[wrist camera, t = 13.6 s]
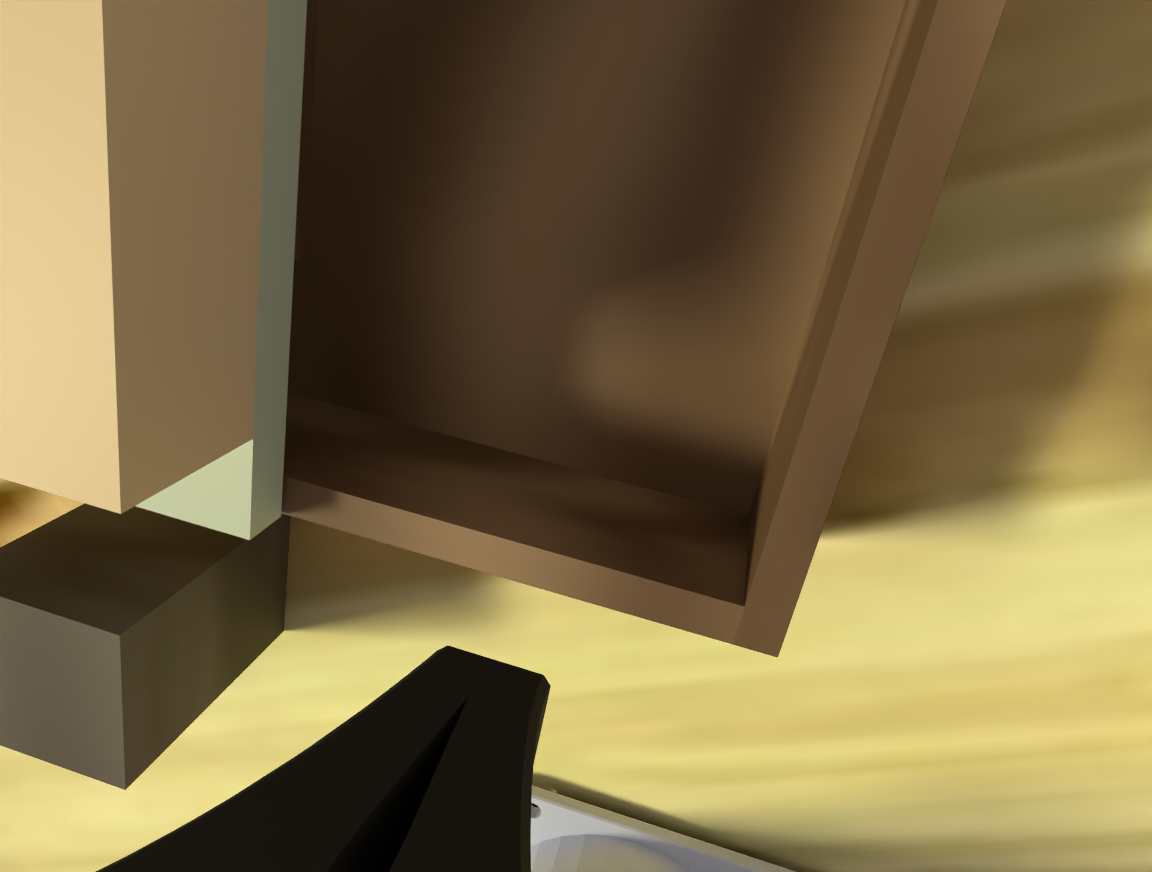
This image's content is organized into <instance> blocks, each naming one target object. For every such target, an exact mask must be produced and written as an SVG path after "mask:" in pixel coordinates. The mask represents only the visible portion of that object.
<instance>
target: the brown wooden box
mask: <svg viewBox="0 0 1152 872" xmlns="http://www.w3.org/2000/svg"><path fill="white" fill-rule="evenodd" d="M1005 3H1006V0H307V13H306V33H305V53H304V73H303V93H302V112H301V132H300V152H299V172H298V192H297V212H296V231H295V251H294V271H293V291H292V311H291V331H290V350H289V370H288V390H287V410H286V430H285V449H284V469H283V489H282V509H281V513H282V514H286V515H289V516H292V517H296V518H299V519H303V520H306V521H310V522H313V523H317V524H320V525H323V526H327V527H330V528H334V529H337V530H341V531H344V532H348V533H351V534H354V535H358V536H361V537H365V538H368V539H372V540H375V541H379V542H382V543H385V544H389V545H392V546H396V547H399V548H403V549H406V550H410V551H413V552H416V553H420V554H423V555H427V556H430V557H434V558H437V559H441V560H444V561H447V562H451V563H454V564H458V565H461V566H465V567H468V568H472V569H475V570H478V571H482V572H485V573H489V574H492V575H496V576H499V577H503V578H506V579H509V580H513V581H516V582H520V583H523V584H527V585H530V586H534V587H537V588H540V589H544V590H547V591H551V592H554V593H558V594H561V595H565V596H568V597H571V598H575V599H578V600H582V601H585V602H589V603H592V604H596V605H599V606H602V607H606V608H609V609H613V610H616V611H620V612H623V613H627V614H630V615H633V616H637V617H640V618H644V619H647V620H651V621H654V622H658V623H661V624H664V625H668V626H671V627H675V628H678V629H682V630H685V631H689V632H692V633H695V634H699V635H702V636H706V637H709V638H713V639H716V640H720V641H723V642H726V643H730V644H733V645H737V646H740V647H744V648H747V649H751V650H754V651H757V652H761V653H764V654H768V655H771V656H775V657H778V655H779V652H780V650H781V647H782V644H783V641H784V638H785V635H786V632H787V629H788V627H789V624H790V621H791V618H792V615H793V612H794V609H795V606H796V604H797V601H798V598H799V595H800V592H801V589H802V586H803V583H804V581H805V578H806V575H807V572H808V569H809V566H810V563H811V560H812V558H813V555H814V552H815V549H816V546H817V543H818V540H819V538H820V535H821V532H822V529H823V526H824V523H825V520H826V517H827V515H828V512H829V509H830V506H831V503H832V500H833V497H834V494H835V492H836V489H837V486H838V483H839V480H840V477H841V474H842V471H843V469H844V466H845V463H846V460H847V457H848V454H849V451H850V448H851V446H852V443H853V440H854V437H855V434H856V431H857V428H858V426H859V423H860V420H861V417H862V414H863V411H864V408H865V405H866V403H867V400H868V397H869V394H870V391H871V388H872V385H873V382H874V380H875V377H876V374H877V371H878V368H879V365H880V362H881V359H882V357H883V354H884V351H885V348H886V345H887V342H888V339H889V336H890V334H891V331H892V328H893V325H894V322H895V319H896V316H897V314H898V311H899V308H900V305H901V302H902V299H903V296H904V293H905V291H906V288H907V285H908V282H909V279H910V276H911V273H912V270H913V268H914V265H915V262H916V259H917V256H918V253H919V250H920V247H921V245H922V242H923V239H924V236H925V233H926V230H927V227H928V224H929V222H930V219H931V216H932V213H933V210H934V207H935V204H936V202H937V199H938V196H939V193H940V190H941V187H942V184H943V181H944V179H945V176H946V173H947V170H948V167H949V164H950V161H951V158H952V156H953V153H954V150H955V147H956V144H957V141H958V138H959V135H960V133H961V130H962V127H963V124H964V121H965V118H966V115H967V112H968V110H969V107H970V104H971V101H972V98H973V95H974V92H975V90H976V87H977V84H978V81H979V78H980V75H981V72H982V69H983V67H984V64H985V61H986V58H987V55H988V52H989V49H990V46H991V44H992V41H993V38H994V35H995V32H996V29H997V26H998V23H999V21H1000V18H1001V15H1002V12H1003V9H1004V6H1005Z"/></svg>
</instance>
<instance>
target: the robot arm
mask: <svg viewBox="0 0 1152 872" xmlns="http://www.w3.org/2000/svg"><path fill="white" fill-rule="evenodd" d="M549 691H550V684H549V683H548V681H547V680H546V678H545V676H544V675H542V674H538V673H535V672H532V671H529V670H526V669H522V668H519V667H516V666H513V665H509V664H506V663H503V662H500V661H496V660H493V659H490V658H487V657H483V656H480V655H477V654H474V653H470V652H467V651H464V650H461V649H457V648H454V647H451V646H446V647H444V648H442V649H440V650H438V651H436V652H435V653H434V654H433V655H432V656H430V657H429V658H428V659H427V660H425V661H424V662H423V663H422V664H420V665H419V666H418V667H417V668H416V669H414V670H413V671H412V672H411V673H409V674H408V675H407V676H406V677H404V678H403V679H402V680H400V681H399V682H398V683H397V684H395V685H394V686H393V687H391V688H390V689H389V690H388V691H386V692H385V693H384V694H382V695H381V696H380V697H378V698H377V699H376V700H374V701H373V702H372V703H370V704H369V705H368V706H366V707H365V708H364V709H362V710H361V711H360V712H358V713H357V714H355V715H354V716H353V717H351V718H350V719H348V720H347V721H346V722H344V723H343V724H341V725H340V726H339V727H337V728H336V729H334V730H333V731H332V732H330V733H329V734H327V735H326V736H324V737H323V738H322V739H320V740H319V741H317V742H316V743H315V744H313V745H312V746H310V747H309V748H307V749H306V750H304V751H303V752H301V753H300V754H299V755H297V756H295V757H294V758H292V759H291V760H289V761H288V762H286V763H285V764H283V765H281V766H280V767H278V768H277V769H275V770H274V771H272V772H270V773H269V774H267V775H266V776H264V777H263V778H261V779H260V780H258V781H256V782H255V783H253V784H252V785H250V786H249V787H247V788H245V789H244V790H242V791H241V792H239V793H238V794H236V795H234V796H233V797H231V798H230V799H228V800H226V801H225V802H223V803H221V804H219V805H218V806H216V807H214V808H213V809H211V810H209V811H208V812H206V813H204V814H202V815H201V816H199V817H197V818H196V819H194V820H192V821H190V822H189V823H187V824H185V825H183V826H182V827H180V828H178V829H176V830H174V831H173V832H171V833H169V834H167V835H165V836H163V837H161V838H160V839H158V840H156V841H154V842H152V843H150V844H149V845H147V846H145V847H143V848H141V849H139V850H137V851H136V852H134V853H132V854H130V855H128V856H126V857H124V858H122V859H120V860H118V861H116V862H114V863H112V864H110V865H108V866H106V867H104V868H102V869H100V870H98V871H96V872H796V871H793V870H790V869H787V868H784V867H781V866H778V865H775V864H771V863H768V862H765V861H762V860H759V859H756V858H753V857H750V856H747V855H744V854H741V853H738V852H735V851H732V850H729V849H725V848H722V847H719V846H716V845H713V844H710V843H707V842H704V841H701V840H698V839H695V838H692V837H689V836H686V835H683V834H680V833H676V832H673V831H670V830H667V829H664V828H661V827H658V826H655V825H652V824H649V823H646V822H643V821H640V820H637V819H634V818H631V817H627V816H624V815H621V814H618V813H615V812H612V811H609V810H606V809H603V808H600V807H597V806H594V805H591V804H588V803H585V802H582V801H578V800H575V799H572V798H569V797H566V796H563V795H560V794H557V793H554V792H551V791H548V790H545V789H542V788H539V787H536V786H533V785H532V776H533V764H534V759H535V754H536V750H537V745H538V741H539V736H540V732H541V727H542V723H543V718H544V714H545V709H546V704H547V700H548V695H549ZM531 803H534V804H536V805H537V806H538V807H534V806H532V805H531Z"/></svg>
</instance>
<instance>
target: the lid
mask: <svg viewBox="0 0 1152 872" xmlns="http://www.w3.org/2000/svg"><path fill="white" fill-rule="evenodd" d="M306 13H307V0H0V478H2V479H6V480H9V481H12V482H16V483H19V484H22V485H26V486H29V487H32V488H36V489H39V490H42V491H46V492H49V493H52V494H56V495H59V496H62V497H66V498H69V499H72V500H76V501H79V502H82V503H86V504H89V505H92V506H96V507H99V508H102V509H106V510H109V511H112V512H116V513H119V514H122V513H124V512H125V511H127V510H129V509H131V508H132V507H134V506H136V507H140V508H143V509H146V510H150V511H153V512H156V513H160V514H163V515H167V516H170V517H173V518H177V519H180V520H183V521H187V522H190V523H193V524H197V525H200V526H204V527H207V528H210V529H214V530H217V531H220V532H224V533H227V534H230V535H234V536H237V537H241V538H244V539H247V540H251V539H252V538H253V537H255V536H256V535H257V534H259V533H260V532H261V531H263V530H264V529H265V528H266V527H268V526H269V525H270V524H272V523H273V522H274V521H276V520H277V519H278V518H280V517H281V509H282V489H283V469H284V449H285V430H286V410H287V390H288V370H289V350H290V331H291V311H292V291H293V271H294V251H295V231H296V212H297V192H298V172H299V152H300V132H301V112H302V93H303V73H304V53H305V33H306Z"/></svg>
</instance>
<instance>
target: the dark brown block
mask: <svg viewBox="0 0 1152 872" xmlns="http://www.w3.org/2000/svg"><path fill="white" fill-rule="evenodd" d="M289 533H290V516H289V515H286V514H282V513H281V517H280V518H278V519H277V520H276V521H274V522H273V523H272V524H270V525H269V526H268V527H266V528H265V529H264V530H263V531H261V532H260V533H259V534H257V535H256V536H255V537H253V538H252V539H251V540H247V539H244V538H241V537H237V536H234V535H230V534H227V533H224V532H220V531H217V530H214V529H210V528H207V527H204V526H200V525H197V524H193V523H190V522H187V521H183V520H180V519H177V518H173V517H170V516H167V515H163V514H160V513H156V512H153V511H150V510H146V509H143V508H140V507H136V506H134V507H132V508H131V509H129V510H127V511H125V512H124V513H122V514H119V513H116V512H112V511H109V510H106V509H102V508H99V507H96V506H92V505H89V504H86V503H85V504H83V505H81V506H79V507H77V508H75V509H73V510H71V511H70V512H68V513H66V514H64V515H62V516H60V517H58V518H56V519H54V520H52V521H50V522H49V523H47V524H45V525H43V526H41V527H39V528H37V529H35V530H33V531H31V532H29V533H27V534H26V535H24V536H22V537H20V538H18V539H16V540H14V541H12V542H10V543H8V544H6V545H5V546H3V547H1V548H0V745H1V746H4V747H7V748H10V749H12V750H15V751H18V752H21V753H24V754H26V755H29V756H32V757H35V758H38V759H40V760H43V761H46V762H49V763H52V764H54V765H57V766H60V767H63V768H66V769H68V770H71V771H74V772H77V773H80V774H82V775H85V776H88V777H91V778H94V779H96V780H99V781H102V782H105V783H108V784H110V785H113V786H116V787H119V788H122V789H124V790H126V789H127V788H128V787H129V786H130V785H131V784H132V783H133V782H134V781H135V780H136V779H137V778H138V777H139V776H140V775H141V774H142V773H143V772H144V771H145V770H146V769H147V768H148V767H149V766H150V765H151V764H152V763H153V762H154V761H155V760H156V759H157V758H158V757H159V756H160V755H161V754H162V753H163V752H164V751H165V750H166V749H167V748H168V747H169V746H170V745H171V744H172V743H173V742H174V741H175V740H176V738H177V737H178V736H179V735H180V734H181V733H182V732H183V731H184V730H185V729H186V728H187V727H188V726H189V725H190V724H191V723H192V722H193V721H194V720H195V719H196V718H197V717H198V716H199V715H200V714H201V713H202V712H203V711H204V710H205V709H206V708H207V707H208V706H209V705H210V704H211V703H212V702H213V701H214V700H215V699H216V698H217V697H218V696H219V695H220V694H221V693H222V692H223V691H224V690H225V689H226V688H227V687H228V686H229V685H230V684H231V683H232V682H233V681H234V680H235V679H236V678H237V677H238V676H239V675H240V674H241V673H242V672H243V671H244V670H245V669H246V668H247V667H248V666H249V665H250V664H251V663H252V662H253V661H254V660H255V659H256V658H257V657H258V656H259V655H260V654H261V653H262V652H263V651H264V650H265V649H266V648H267V647H268V646H269V645H270V644H271V643H272V642H273V641H274V640H275V639H276V638H277V637H278V636H279V635H280V634H281V633H282V632H283V631H284V617H285V600H286V583H287V567H288V550H289Z"/></svg>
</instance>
